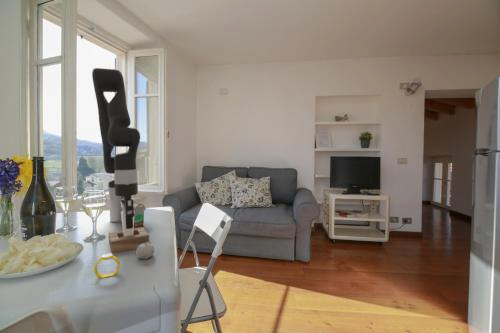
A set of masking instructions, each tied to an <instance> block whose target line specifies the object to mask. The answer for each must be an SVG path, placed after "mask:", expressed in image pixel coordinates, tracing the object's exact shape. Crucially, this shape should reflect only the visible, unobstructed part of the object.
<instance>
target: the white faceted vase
mask: <svg viewBox="0 0 500 333" xmlns="http://www.w3.org/2000/svg"><path fill="white" fill-rule="evenodd" d="M128 214H131V212H129V213H128ZM121 219H122V221H121V225H122V227H121V228H122V230H123V236H124V237H127V236H132V235H133V234H134V217H133V228H131V229H127V228H126V218H125V213H123V211H122V212H121Z"/></svg>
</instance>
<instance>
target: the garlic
mask: <svg viewBox="0 0 500 333" xmlns="http://www.w3.org/2000/svg"><path fill="white" fill-rule="evenodd" d="M135 253H136V256H137V257H138V258H140V260H141V259H143V260H148V259H149V258H151V257H152V256H153V255H154V253H155V247H154V245H153V244H152V243H151V241H149V242H145V243H143V244H141V245H139V246H138V247H137V248H136V250H135Z"/></svg>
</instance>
